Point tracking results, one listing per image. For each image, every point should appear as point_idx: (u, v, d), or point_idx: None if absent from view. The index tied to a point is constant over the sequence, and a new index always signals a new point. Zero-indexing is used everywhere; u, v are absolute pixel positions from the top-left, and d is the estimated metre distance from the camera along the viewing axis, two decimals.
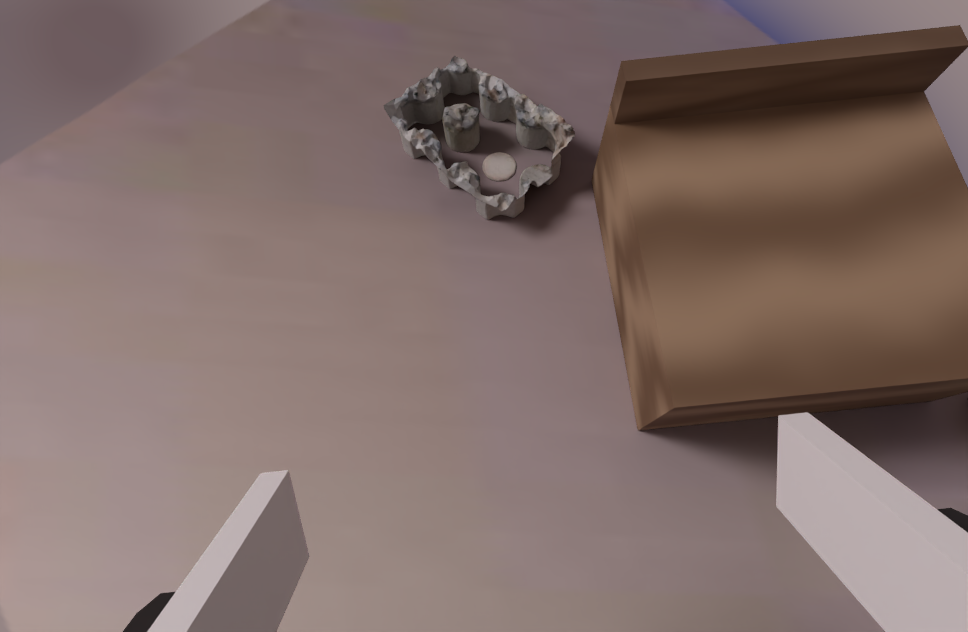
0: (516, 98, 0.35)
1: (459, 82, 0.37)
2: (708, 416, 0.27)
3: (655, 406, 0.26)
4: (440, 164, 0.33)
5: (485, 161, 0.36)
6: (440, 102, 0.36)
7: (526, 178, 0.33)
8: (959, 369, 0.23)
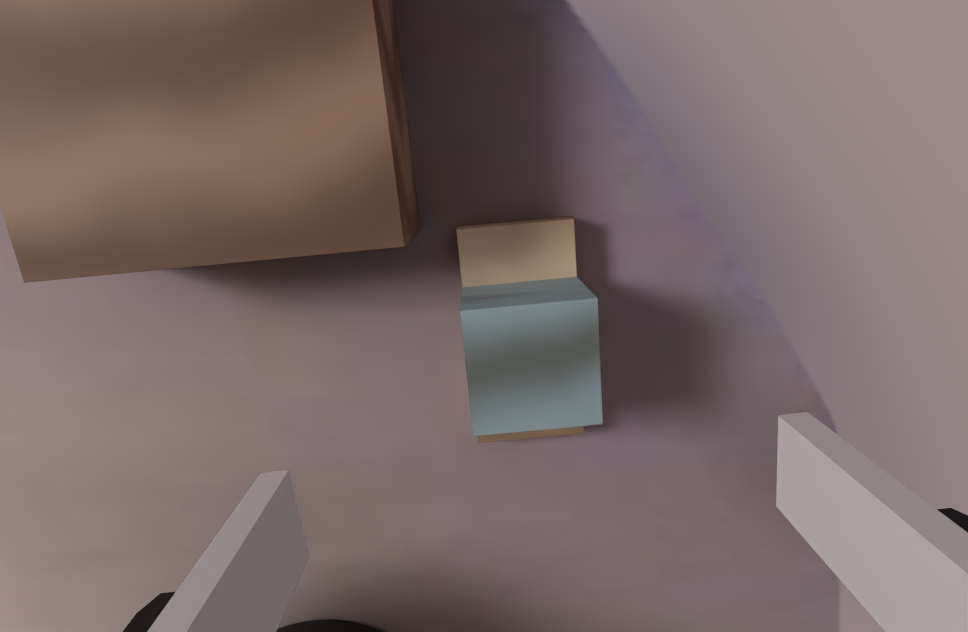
0: None
1: None
2: None
3: None
4: None
5: None
6: None
7: None
8: (314, 245, 0.23)
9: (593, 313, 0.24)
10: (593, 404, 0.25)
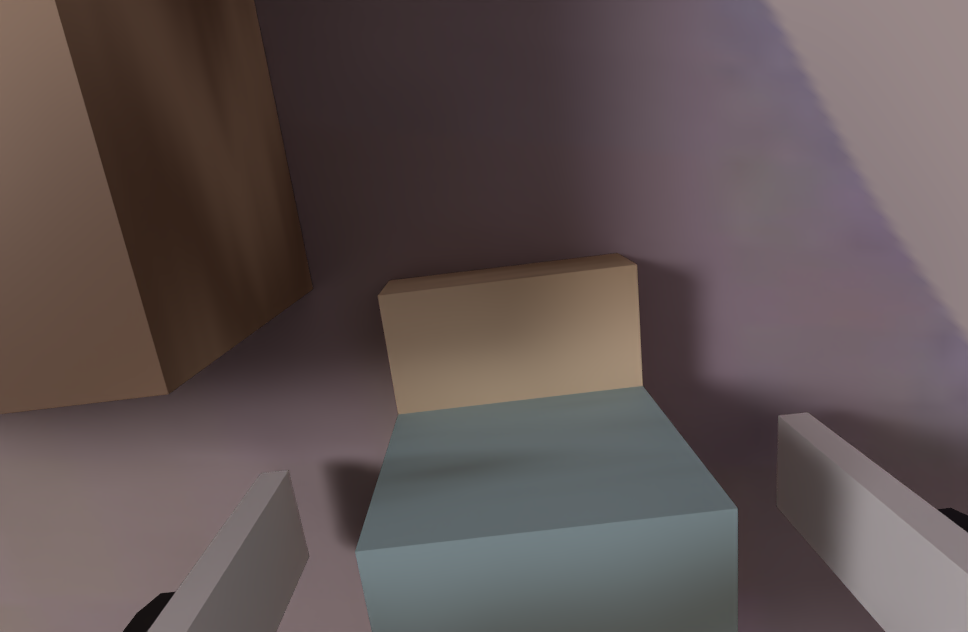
0: None
1: None
2: None
3: None
4: None
5: None
6: None
7: None
8: None
9: (724, 546, 0.09)
10: None
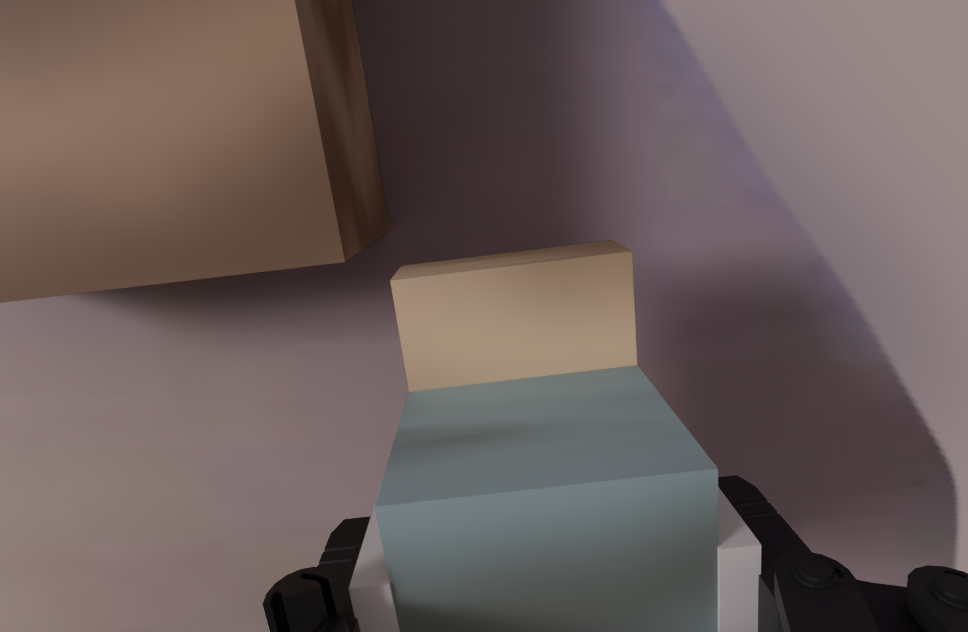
0: None
1: None
2: None
3: None
4: None
5: None
6: None
7: None
8: (211, 263, 0.15)
9: (706, 503, 0.10)
10: None
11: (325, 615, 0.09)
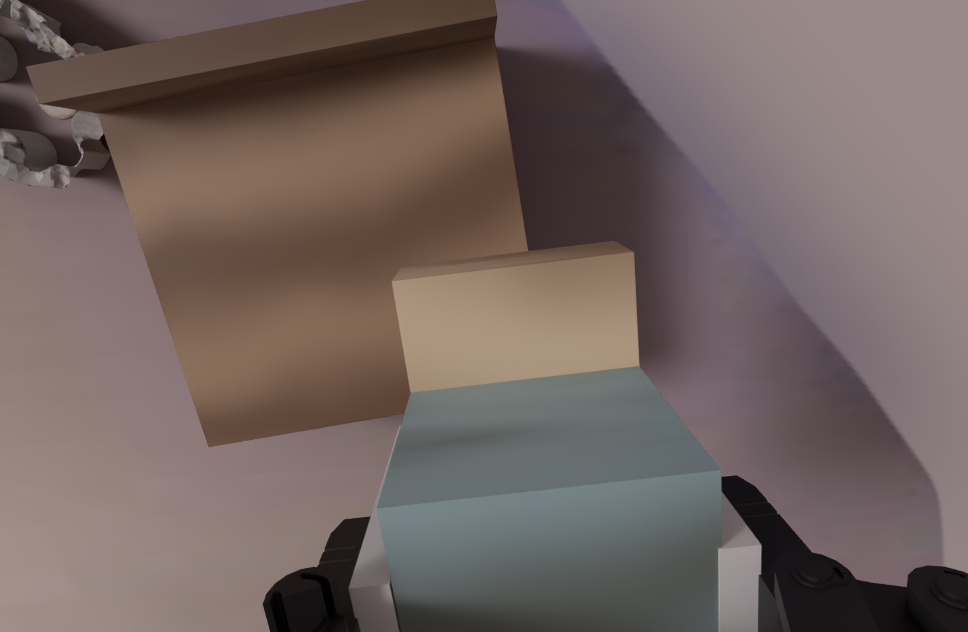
0: (11, 9, 0.25)
1: None
2: None
3: None
4: None
5: None
6: None
7: (79, 131, 0.27)
8: None
9: (709, 505, 0.10)
10: None
11: (325, 615, 0.09)
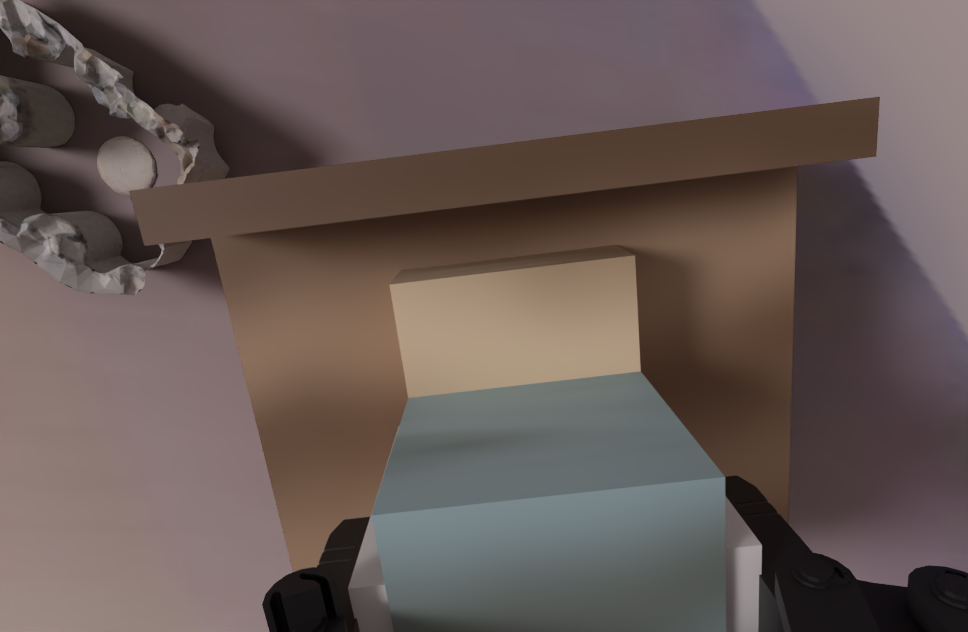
0: (75, 60, 0.18)
1: None
2: None
3: None
4: None
5: (99, 161, 0.21)
6: None
7: None
8: None
9: (713, 513, 0.09)
10: None
11: (324, 615, 0.09)
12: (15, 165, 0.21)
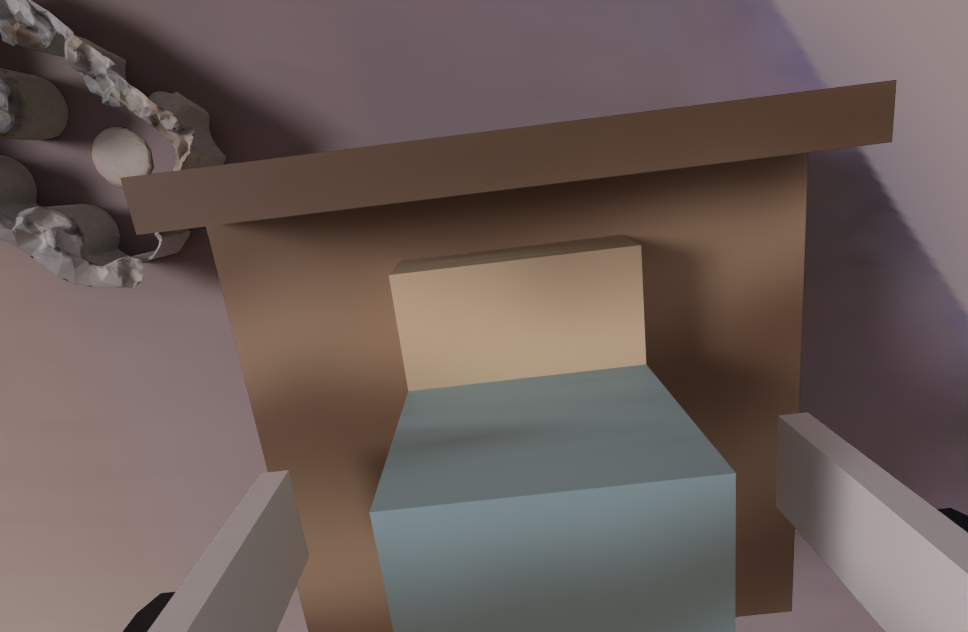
0: (65, 47, 0.17)
1: None
2: None
3: None
4: None
5: (94, 152, 0.21)
6: None
7: None
8: None
9: (723, 510, 0.09)
10: None
11: None
12: (9, 159, 0.21)
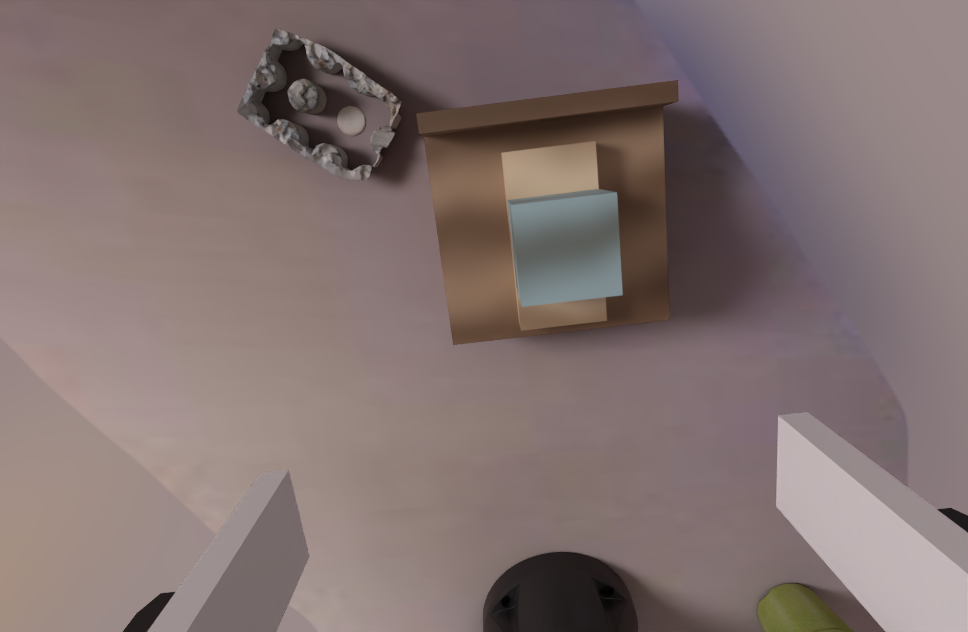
0: (343, 68, 0.40)
1: (288, 47, 0.41)
2: None
3: None
4: (305, 152, 0.41)
5: (338, 119, 0.43)
6: (280, 77, 0.41)
7: (375, 142, 0.42)
8: (619, 320, 0.40)
9: (614, 204, 0.31)
10: (615, 279, 0.32)
11: None
12: (298, 124, 0.43)
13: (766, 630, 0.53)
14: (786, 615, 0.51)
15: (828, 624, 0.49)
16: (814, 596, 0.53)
